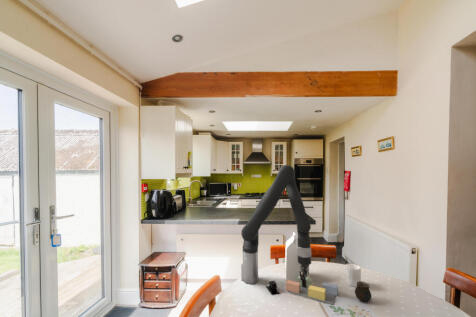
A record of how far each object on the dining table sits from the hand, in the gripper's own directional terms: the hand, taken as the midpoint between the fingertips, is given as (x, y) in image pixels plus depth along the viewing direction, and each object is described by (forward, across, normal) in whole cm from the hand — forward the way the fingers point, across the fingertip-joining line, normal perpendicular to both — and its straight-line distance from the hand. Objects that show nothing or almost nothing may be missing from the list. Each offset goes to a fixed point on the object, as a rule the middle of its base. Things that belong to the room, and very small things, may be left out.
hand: (304, 285), depth 124 cm
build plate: (+1, +12, -14) cm, 19 cm away
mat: (+1, +4, +5) cm, 7 cm away
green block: (0, 0, 0) cm, 0 cm away
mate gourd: (+1, -1, +29) cm, 29 cm away
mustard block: (0, +8, +8) cm, 11 cm away
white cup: (+1, -16, +24) cm, 29 cm away
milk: (+1, -9, -8) cm, 12 cm away
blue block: (0, 0, +13) cm, 13 cm away
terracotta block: (0, +8, -5) cm, 9 cm away
